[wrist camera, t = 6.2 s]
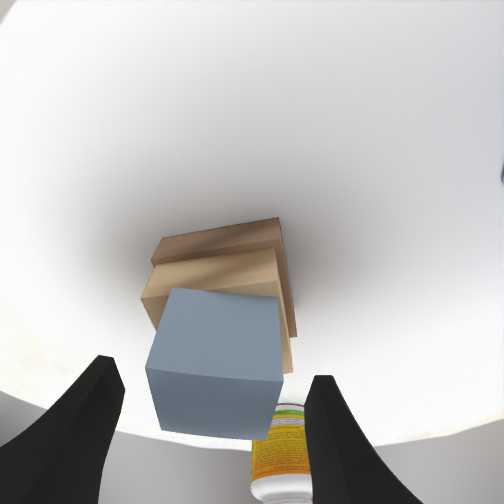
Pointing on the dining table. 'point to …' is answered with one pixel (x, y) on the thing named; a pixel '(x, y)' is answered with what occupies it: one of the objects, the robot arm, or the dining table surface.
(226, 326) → the slate blue cube
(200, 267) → the oak slab
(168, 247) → the walnut slab
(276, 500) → the supplement bottle
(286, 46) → the dining table surface
